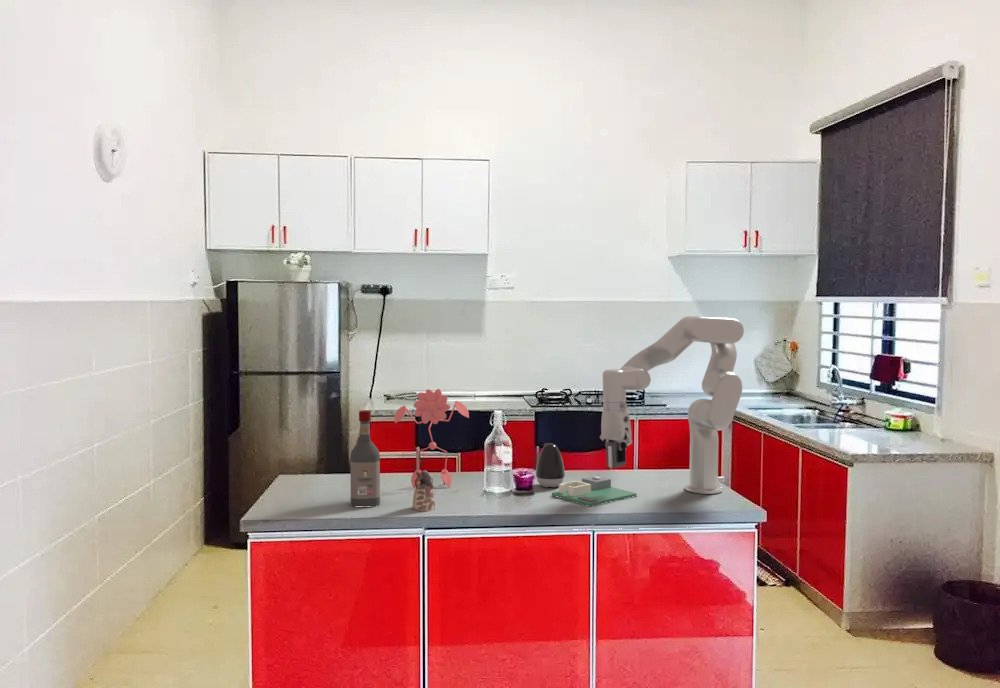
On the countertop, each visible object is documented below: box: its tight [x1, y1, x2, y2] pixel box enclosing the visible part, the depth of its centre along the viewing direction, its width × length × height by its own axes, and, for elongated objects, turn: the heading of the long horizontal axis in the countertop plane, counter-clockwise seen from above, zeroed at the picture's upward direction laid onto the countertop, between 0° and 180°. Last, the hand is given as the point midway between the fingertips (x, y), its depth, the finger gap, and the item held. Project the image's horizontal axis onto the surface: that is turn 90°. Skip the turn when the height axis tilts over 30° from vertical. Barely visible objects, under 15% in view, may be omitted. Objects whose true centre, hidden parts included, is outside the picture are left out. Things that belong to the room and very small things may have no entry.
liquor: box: [349, 409, 381, 507], centre depth 257 cm, size 9×9×30 cm
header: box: [558, 480, 591, 497], centre depth 269 cm, size 8×7×3 cm
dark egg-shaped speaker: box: [535, 442, 566, 488], centre depth 284 cm, size 10×10×15 cm
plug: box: [605, 441, 627, 469], centre depth 269 cm, size 6×4×8 cm
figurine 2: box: [412, 470, 436, 512], centre depth 253 cm, size 7×7×12 cm
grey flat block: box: [581, 475, 612, 490], centre depth 278 cm, size 7×7×3 cm
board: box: [551, 486, 638, 507], centre depth 269 cm, size 22×18×3 cm
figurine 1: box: [393, 388, 470, 493], centre depth 277 cm, size 15×26×35 cm, turn 96°
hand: (616, 460), depth 269 cm, fingers closed on plug, 4 cm apart
